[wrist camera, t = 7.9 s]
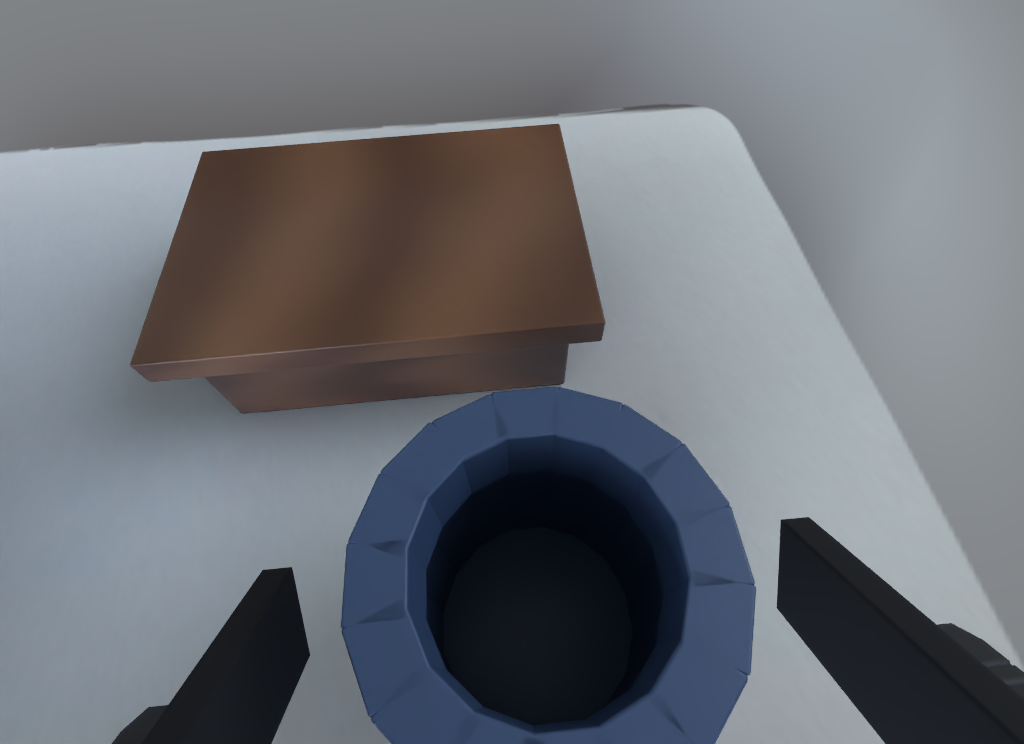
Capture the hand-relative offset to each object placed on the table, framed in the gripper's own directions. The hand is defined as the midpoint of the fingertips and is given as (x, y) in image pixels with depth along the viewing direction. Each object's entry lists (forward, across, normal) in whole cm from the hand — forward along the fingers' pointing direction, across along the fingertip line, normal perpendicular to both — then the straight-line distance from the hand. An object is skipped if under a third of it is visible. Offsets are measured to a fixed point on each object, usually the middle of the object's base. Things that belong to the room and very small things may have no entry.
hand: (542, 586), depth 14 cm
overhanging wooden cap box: (+15, -5, +6) cm, 17 cm away
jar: (+4, 0, -5) cm, 6 cm away
